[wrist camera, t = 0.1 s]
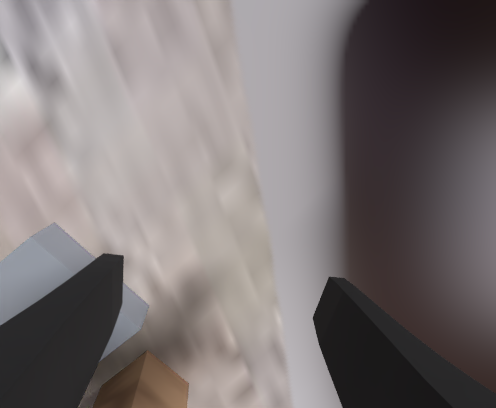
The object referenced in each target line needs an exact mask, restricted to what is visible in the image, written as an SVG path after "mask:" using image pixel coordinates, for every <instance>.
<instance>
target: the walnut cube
mask: <svg viewBox="0 0 496 408" xmlns="http://www.w3.org/2000/svg"><path fill="white" fill-rule="evenodd" d="M188 387H189V383H187V382H186V381H185V380H184V379H183V378H181V377H180V376H179V375H178V374H176V373H175V372H174V371H173V370H171V369H170V368H169V367H168V366H166V365H165V364H164V363H163V362H162V361H160V360H159V359H158V358H157V357H155V356H154V355H153V354H152V353H150V352H149V351H146V352H145V353H144V354H142V355H141V356H140V357H138V358H137V359H136V360H135V361H133V362H132V363H131V364H129V365H128V366H127V367H125V368H124V369H123V370H122V371H120V372H119V373H118V374H116V375H115V376H114V377H112V378H111V379H110V380H109V381H107V382H106V383H105V384H103V385H102V387H101V389H100V391H99V394H98V396H97V399H96V401H95V403H94V406H93V408H187V399H188Z"/></svg>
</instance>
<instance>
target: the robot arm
mask: <svg viewBox="0 0 496 408" xmlns="http://www.w3.org/2000/svg"><path fill="white" fill-rule="evenodd" d="M123 259H124V256H123V255H113V254H102V255H101V256H99V257H98V258H97V259H95V260H94V261H92V262H91V263H90V264H88V265H87V266H86V267H84V268H83V269H82V270H80V271H79V272H78V273H76V274H75V275H74V276H72V277H71V278H70V279H68V280H67V281H65V282H64V283H63V284H61V285H60V286H58V287H57V288H56V289H54V290H53V291H51V292H50V293H48V294H47V295H46V296H44V297H43V298H41V299H40V300H38V301H37V302H35V303H34V304H32V305H31V306H29V307H28V308H26V309H25V310H23V311H22V312H20V313H19V314H17V315H16V316H14V317H12V318H11V319H9V320H8V321H6V322H5V323H3V324H2V325H0V408H77V407H78V405H79V403H80V401H81V399H82V397H83V395H84V393H85V391H86V388H87V386H88V384H89V382H90V380H91V378H92V376H93V374H94V372H95V369H96V367H97V365H98V363H99V361H100V359H101V357H102V355H103V353H104V350H105V348H106V346H107V344H108V342H109V340H110V337H111V335H112V333H113V330H114V327H115V324H116V321H117V319H118V316H119V313H120V310H121V307H122V303H123ZM313 321H314V325H315V329H316V334H317V338H318V342H319V345H320V348H321V351H322V354H323V357H324V359H325V362H326V365H327V367H328V370H329V373H330V375H331V378H332V381H333V383H334V386H335V388H336V391H337V394H338V396H339V399H340V402H341V404H342V407H343V408H496V394H495V393H494V392H492V391H491V390H489V389H488V388H486V387H485V386H483V385H482V384H480V383H479V382H477V381H476V380H474V379H473V378H471V377H470V376H468V375H467V374H465V373H464V372H463V371H461V370H459V369H458V368H457V367H455V366H454V365H453V364H451V363H450V362H448V361H447V360H445V359H444V358H443V357H441V356H440V355H438V354H437V353H436V352H435V351H433V350H432V349H431V348H429V347H428V346H427V345H426V344H424V343H423V342H422V341H420V340H419V339H418V338H416V337H415V336H414V335H412V334H411V333H410V332H409V331H408V330H406V329H405V328H404V327H403V326H402V325H400V324H399V323H398V322H397V321H396V320H394V319H393V318H392V317H391V316H390V315H388V314H387V313H386V312H385V311H384V310H382V309H381V308H380V307H379V306H378V305H376V304H375V303H374V302H373V301H372V300H371V299H369V298H368V297H367V296H366V295H365V294H363V293H362V292H361V291H360V290H359V289H358V288H356V287H355V286H354V285H353V284H351V283H350V282H349V281H347V280H346V279H345V278H337V277H329V278H328V281H327V283H326V286H325V288H324V291H323V294H322V296H321V298H320V301H319V304H318V306H317V308H316V311H315V313H314V316H313Z"/></svg>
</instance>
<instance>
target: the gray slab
mask: <svg viewBox="0 0 496 408" xmlns="http://www.w3.org/2000/svg"><path fill="white" fill-rule="evenodd" d="M95 259H96V258H95V257H94V256H93V255H91V254H90V253H89V252H88V251H87V250H86V249H85V248H83V247H82V246H81V245H80V244H79V243H78V242H77V241H75V240H74V239H73V238H72V237H71V236H70V235H69V234H68V233H66V232H65V231H64V230H63V229H62V228H61V227H60V226H58V225H57V224H56V223H53V224H51V225H50V226H48V227H46V228H45V229H43V230H41V231H40V232H38V233H36V234H35V235H33V236H31V237H30V238H29V239H27V240H26V241H25V242H24V243H23V244H21V245H20V246H19V247H18V248H17V249H15V250H14V251H13V252H12V253H11V254H9V255H8V256H7V257H6V258H5V259H3V260H2V261H1V262H0V325H2V324H3V323H5V322H6V321H8V320H9V319H11V318H12V317H14V316H16V315H17V314H19V313H20V312H22V311H23V310H25V309H26V308H28V307H29V306H31V305H32V304H34V303H35V302H37V301H38V300H40V299H41V298H43V297H44V296H46V295H47V294H48V293H50V292H51V291H53V290H54V289H56V288H57V287H58V286H60V285H61V284H63V283H64V282H65V281H67V280H68V279H70V278H71V277H72V276H74V275H75V274H76V273H78V272H79V271H80V270H82V269H83V268H84V267H86V266H87V265H88V264H90V263H91V262H92V261H94V260H95ZM148 308H149V305H148V304H147V303H146V302H145V301H144V300H143V299H141V298H140V297H139V296H138V295H137V294H136V293H135V292H134V291H132V290H131V289H130V288H129V287H128V286H127V285H126V284H124V283H123V303H122V307H121V310H120V313H119V316H118V319H117V321H116V324H115V327H114V330H113V333H112V335H111V337H110V340H109V342H108V344H107V346H106V348H105V350H104V353H103V355H102V357H101V359H100V361H101V360H102V359H103V358H105V357H106V356H107V355H109V354H110V353H111V352H112V351H114V350H115V349H116V348H118V347H119V346H120V345H121V344H123V343H124V342H125V341H127V340H128V339H129V338H130V337H132V336H133V335H134V334H136V333H137V332H138V331H139V330H141V328H142V325H143V322H144V319H145V316H146V314H147V311H148ZM100 361H99V362H100Z"/></svg>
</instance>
